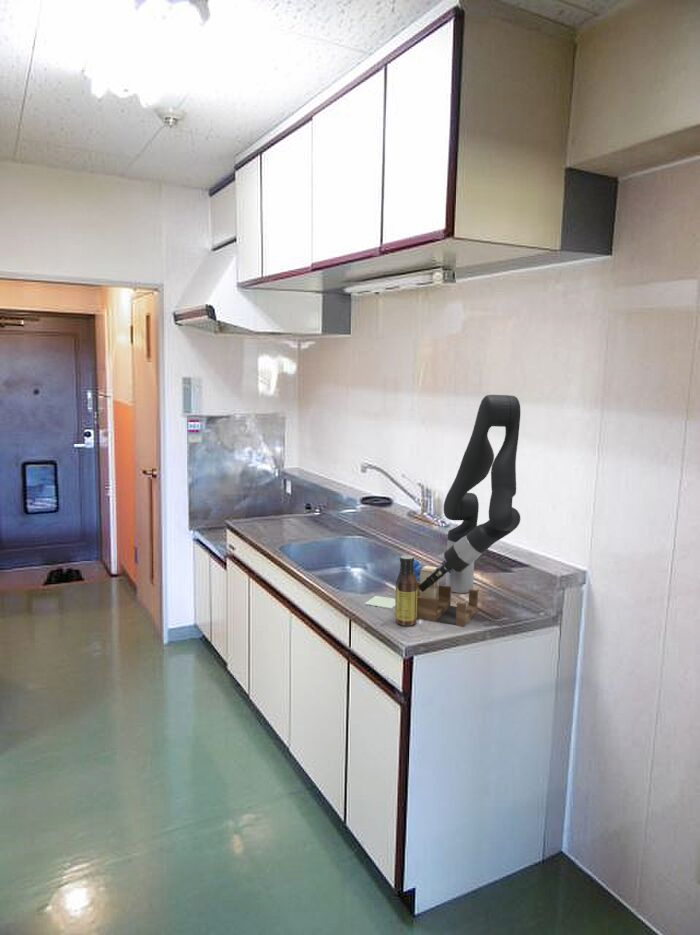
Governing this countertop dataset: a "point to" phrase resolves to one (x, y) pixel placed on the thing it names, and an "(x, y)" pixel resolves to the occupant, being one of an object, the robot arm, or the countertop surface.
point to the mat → (382, 602)
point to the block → (433, 589)
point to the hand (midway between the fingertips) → (423, 586)
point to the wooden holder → (446, 607)
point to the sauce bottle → (406, 593)
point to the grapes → (417, 570)
